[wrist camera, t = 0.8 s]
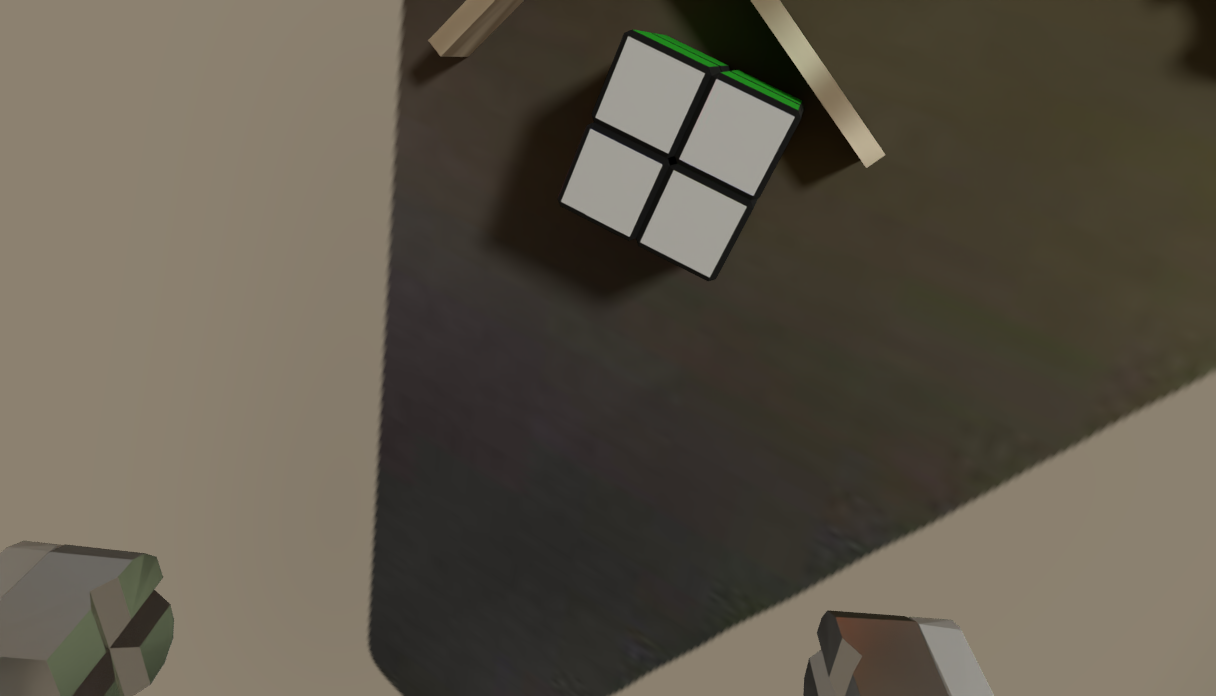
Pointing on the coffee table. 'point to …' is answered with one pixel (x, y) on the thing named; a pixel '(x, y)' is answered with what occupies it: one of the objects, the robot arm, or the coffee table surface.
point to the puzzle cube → (678, 151)
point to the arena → (495, 3)
